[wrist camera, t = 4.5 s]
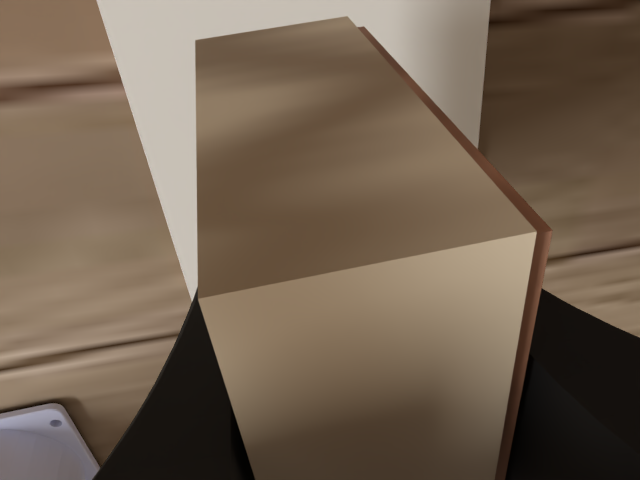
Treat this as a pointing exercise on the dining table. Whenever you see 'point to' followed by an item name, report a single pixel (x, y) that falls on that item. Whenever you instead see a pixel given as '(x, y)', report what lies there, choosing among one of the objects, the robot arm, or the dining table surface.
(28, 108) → the dining table surface
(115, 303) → the dining table surface
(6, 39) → the dining table surface
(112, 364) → the dining table surface
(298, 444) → the tan wooden block
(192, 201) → the mat
